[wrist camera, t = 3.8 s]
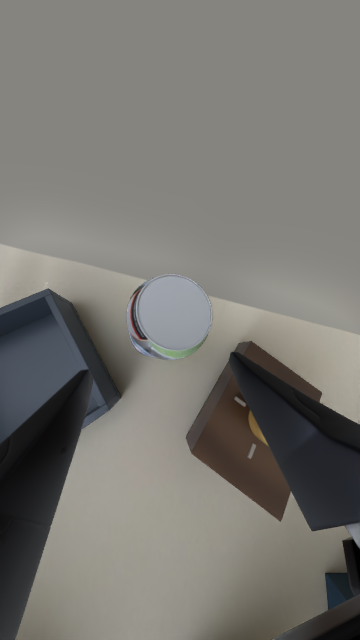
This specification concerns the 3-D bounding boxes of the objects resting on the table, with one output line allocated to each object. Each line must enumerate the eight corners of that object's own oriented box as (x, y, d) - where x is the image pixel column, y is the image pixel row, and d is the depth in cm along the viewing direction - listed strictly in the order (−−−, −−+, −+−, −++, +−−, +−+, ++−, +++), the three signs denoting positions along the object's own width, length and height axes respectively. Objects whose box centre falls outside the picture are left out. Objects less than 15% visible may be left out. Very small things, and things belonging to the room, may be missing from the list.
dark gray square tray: (121, 397, 17) (110, 410, 13) (-15, 487, 14) (-88, 543, 10) (71, 302, 19) (48, 288, 15) (-59, 361, 16) (-136, 363, 12)
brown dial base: (260, 494, 17) (282, 524, 14) (185, 437, 17) (191, 454, 14) (300, 387, 21) (324, 393, 18) (238, 342, 21) (252, 340, 18)
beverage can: (134, 312, 20) (102, 252, 9) (185, 314, 21) (218, 263, 10) (130, 358, 19) (85, 361, 7) (186, 358, 20) (226, 360, 8)
